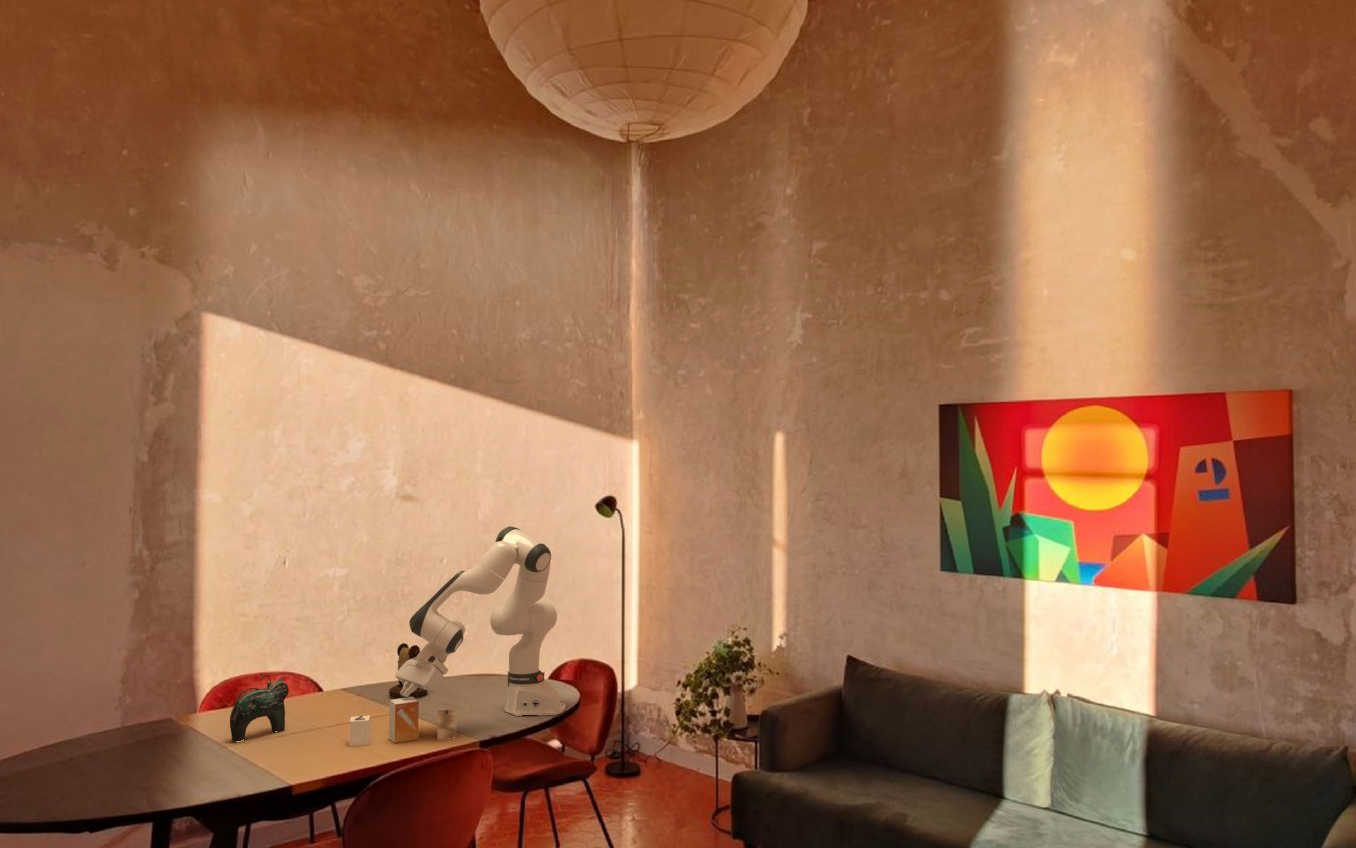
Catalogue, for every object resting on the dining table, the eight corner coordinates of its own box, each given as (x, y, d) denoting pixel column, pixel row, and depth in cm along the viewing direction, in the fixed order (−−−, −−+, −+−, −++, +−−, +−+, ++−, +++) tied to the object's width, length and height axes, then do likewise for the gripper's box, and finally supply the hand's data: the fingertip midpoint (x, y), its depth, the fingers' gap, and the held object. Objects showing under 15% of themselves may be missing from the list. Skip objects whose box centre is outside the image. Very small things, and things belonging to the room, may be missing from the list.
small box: (394, 744, 316) (394, 704, 316) (388, 738, 322) (389, 699, 322) (418, 739, 321) (419, 700, 321) (412, 734, 326) (413, 696, 326)
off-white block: (369, 739, 321) (369, 714, 322) (369, 744, 316) (369, 719, 316) (350, 741, 320) (350, 715, 320) (349, 746, 314) (349, 720, 314)
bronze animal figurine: (281, 727, 336) (282, 669, 336) (292, 730, 332) (292, 672, 333) (226, 741, 320) (227, 681, 320) (237, 745, 316) (238, 683, 316)
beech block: (455, 733, 328) (455, 708, 329) (456, 738, 323) (456, 713, 323) (437, 734, 327) (437, 710, 327) (437, 739, 321) (437, 714, 321)
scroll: (381, 696, 377) (381, 645, 378) (411, 689, 389) (411, 639, 390) (405, 702, 369) (406, 649, 369) (435, 694, 381) (436, 643, 382)
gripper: (407, 651, 335) (381, 684, 328) (439, 660, 321) (413, 695, 313) (418, 662, 338) (393, 695, 331) (451, 671, 324) (425, 706, 317)
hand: (403, 695), depth 322 cm, fingers closed
